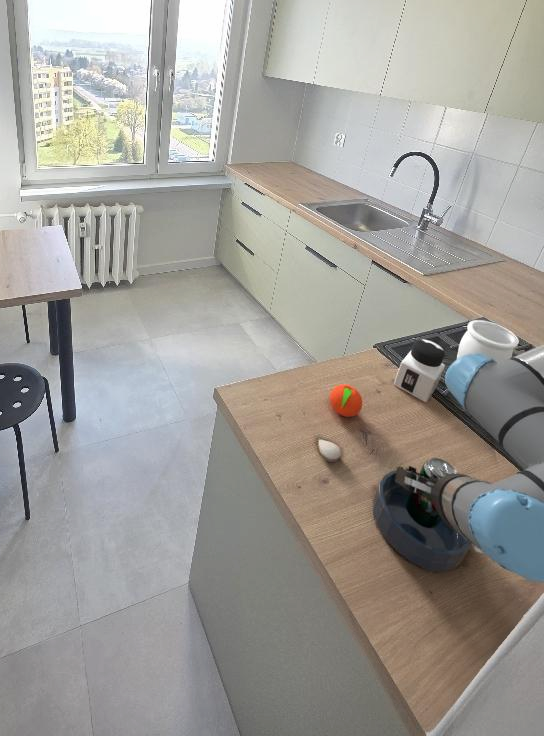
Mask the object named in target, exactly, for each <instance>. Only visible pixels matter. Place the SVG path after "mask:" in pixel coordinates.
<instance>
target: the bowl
mask: <svg viewBox="0 0 544 736" xmlns="http://www.w3.org/2000/svg"><path fill="white" fill-rule="evenodd" d="M396 471H397V469H394V470H390V471H389V472H387V473H386V474H385V475H383V477H382V478H381V480H380V483H379V485H378V487H377V490H376V492H375V495H374V498H373V499H372V514H373V517H374V521H375V524H376V526H377V528H378V529H379V531H380V532H381V535H382V536H383V538H384V539H385V540H386V541H387V542H388V544H390V546H391V547H392V548H393V549H394V550H395V551H396V552H397V553H398V554H399V555H401V556H402V557H403V558H404V559H406V560H408V561H409V562H410V563H412V564H414V565H416V566H419V567H420V568H422V569H425V570H427V571H432V572H437V573H444V572H449V571H454V570H455V569H456V568H457V567H459V566H460V564H462V562H463V561H464V558H465V557H466V556H467V554H468V552H469V550H470V548H471V546H472V545H473V544H472V543H471V542H469V541H468V540H467V539H465V538H464V537H462V536H460V535H459V534H458V533H456V532H455V531H453V530H452V529H451V528H450V527H448V526H447V525H446V524H445V523H444V521H443V520H442V519H441V520H440V522H439V524H438V526H437V527H436V528H431V529H430V528H425V527H422V526H420V525H419V524H417V523H416V522H415V521H414V520H413V519H412V518H411V517H410V515H409V514H408V512H407V509H406V503H407V501H408V498H409V496H410V494H411V492H412V491H410V492H409V491H407V490H406V489H404V488H403V486H401V485H400V484H397V483H396V482H395V477H396ZM416 472H417V471H416ZM417 473H419V474H420V472H417Z"/></svg>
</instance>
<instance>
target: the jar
mask: <svg viewBox="0 0 544 736" xmlns="http://www.w3.org/2000/svg"><path fill="white" fill-rule="evenodd" d="M466 326H467V327H466V328H467V330H466V332H465V333H464V334H463V335H462V337H461V340H460V342H459V344H458V349H457V355H456V360H457V359H458V358H460V357H462V356H464V355H467V354H477V353H480V354H484V355H486V356H488V357H489V358H490V359H493V360H495V361H496V362H497V363H500V362H502V361H505V360H507V359H510V358H513V352H514V349H516V348H517V346H518V344H519V341H520V340H519V338H518V337H517V336H516V335H515V333H513V331H510V330H509V329H508V328H506V327H505V326H503V325H500V324H498V323H496V322H495V323H494V322H492V321H488V320H484V319H474V320H470V321H469V322H468V323H467V325H466Z"/></svg>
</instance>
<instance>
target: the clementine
mask: <svg viewBox="0 0 544 736" xmlns="http://www.w3.org/2000/svg"><path fill="white" fill-rule="evenodd" d="M329 402H330V405H331V407H332V409H333V410H334V411H335V412H336V413H337V414H339V415H340V416H343V417H347V418H351V417H355V416H356V415H358V414H359V413H360V412H361V411H362V408H363V399H362V395H361V394H360V392H359V390H357V389H356V388H355V387H354V386H352V385H350V384H345V383H344V384H338V385H336V386H334V387H333V388H332V390H331V392H330V394H329Z"/></svg>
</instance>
